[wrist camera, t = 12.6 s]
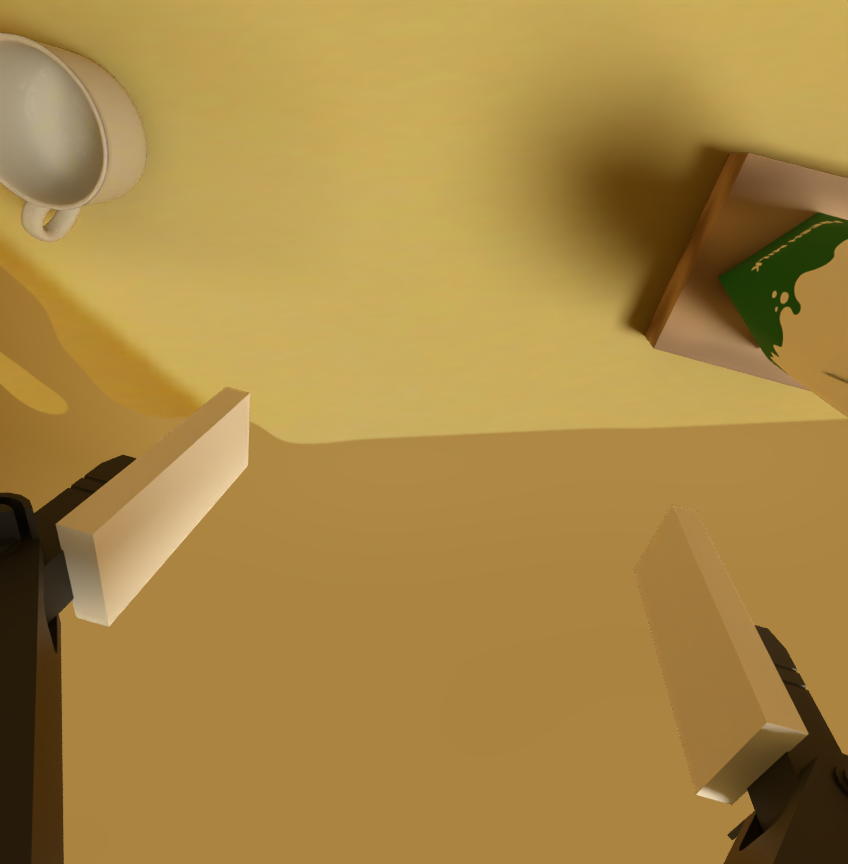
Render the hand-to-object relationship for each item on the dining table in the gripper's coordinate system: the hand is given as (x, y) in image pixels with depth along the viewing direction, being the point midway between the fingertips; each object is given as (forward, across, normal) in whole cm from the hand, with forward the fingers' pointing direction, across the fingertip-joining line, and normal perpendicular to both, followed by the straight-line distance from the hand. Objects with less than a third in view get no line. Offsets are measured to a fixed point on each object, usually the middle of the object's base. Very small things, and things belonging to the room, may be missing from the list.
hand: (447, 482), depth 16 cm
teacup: (+32, -35, +2) cm, 47 cm away
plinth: (+32, +21, +5) cm, 39 cm away
